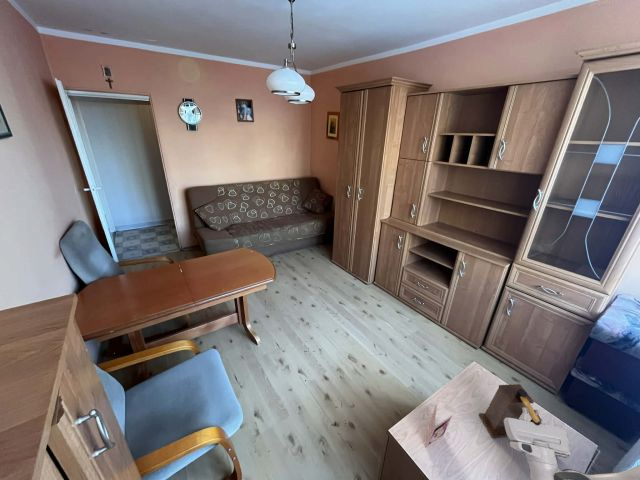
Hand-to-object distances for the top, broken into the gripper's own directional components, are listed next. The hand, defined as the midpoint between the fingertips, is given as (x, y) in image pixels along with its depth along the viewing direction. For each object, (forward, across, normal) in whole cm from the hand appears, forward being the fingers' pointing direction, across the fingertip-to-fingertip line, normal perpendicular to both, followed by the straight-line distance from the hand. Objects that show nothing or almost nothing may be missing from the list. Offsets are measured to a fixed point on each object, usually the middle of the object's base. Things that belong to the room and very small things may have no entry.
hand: (530, 408), depth 105 cm
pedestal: (-6, +2, +27) cm, 28 cm away
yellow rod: (-1, 0, +3) cm, 3 cm away
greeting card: (-16, +34, +20) cm, 43 cm away
